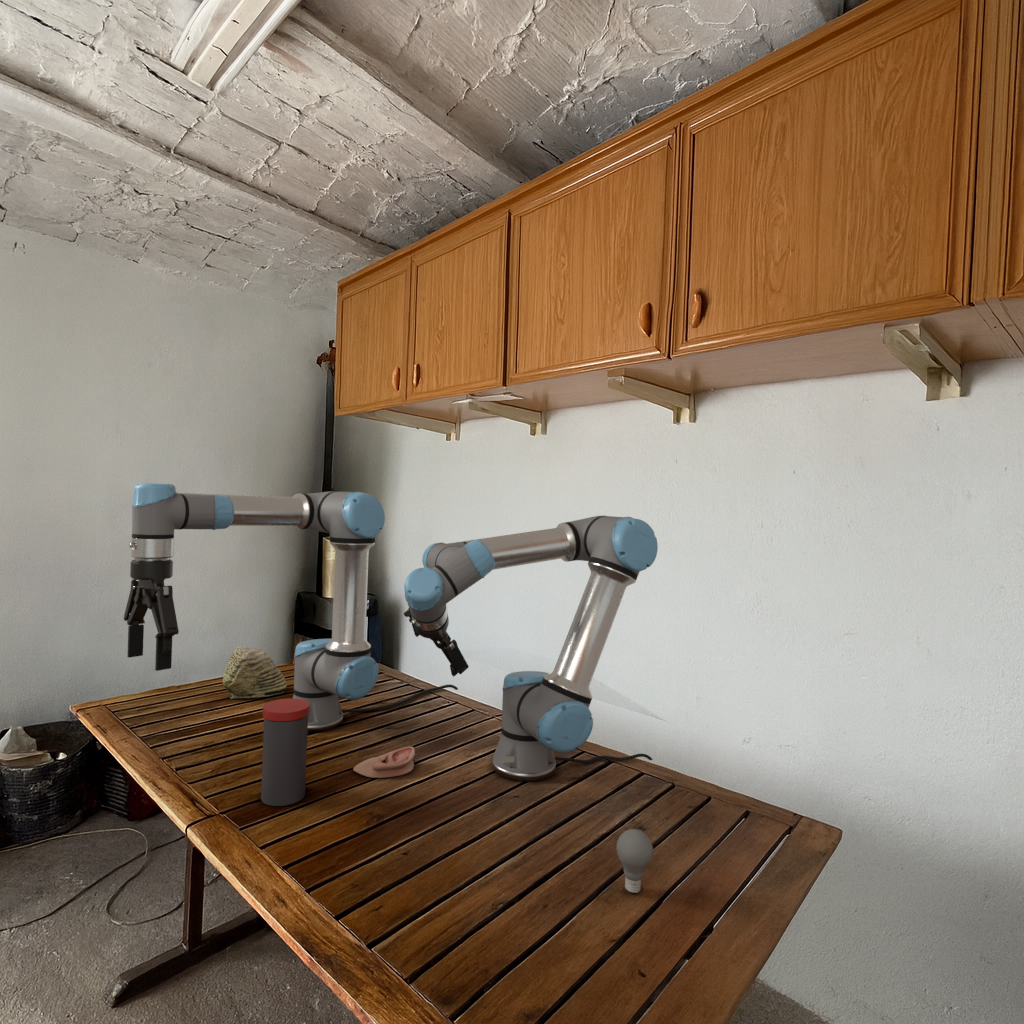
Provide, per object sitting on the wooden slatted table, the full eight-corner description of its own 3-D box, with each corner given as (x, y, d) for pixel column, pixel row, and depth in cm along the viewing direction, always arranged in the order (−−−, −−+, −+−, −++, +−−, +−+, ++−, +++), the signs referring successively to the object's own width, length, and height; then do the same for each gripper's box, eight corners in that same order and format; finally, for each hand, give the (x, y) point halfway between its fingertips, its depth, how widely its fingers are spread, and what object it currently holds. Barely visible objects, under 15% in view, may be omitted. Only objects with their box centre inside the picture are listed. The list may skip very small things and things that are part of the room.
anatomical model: (347, 757, 144) (369, 739, 156) (347, 774, 144) (368, 755, 156) (402, 764, 142) (420, 745, 153) (402, 782, 142) (419, 762, 153)
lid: (310, 705, 139) (311, 697, 139) (308, 720, 130) (308, 711, 130) (265, 707, 136) (265, 699, 136) (259, 722, 127) (259, 713, 127)
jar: (306, 785, 139) (309, 700, 138) (303, 804, 130) (307, 713, 130) (263, 788, 136) (267, 701, 136) (258, 807, 128) (261, 715, 128)
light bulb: (610, 879, 108) (613, 822, 108) (644, 879, 109) (647, 822, 109) (619, 902, 102) (622, 840, 102) (655, 901, 103) (658, 840, 103)
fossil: (218, 695, 195) (220, 647, 195) (278, 685, 208) (279, 640, 207) (228, 703, 189) (230, 653, 188) (289, 692, 201) (290, 645, 201)
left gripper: (108, 554, 134) (104, 654, 134) (159, 565, 118) (155, 678, 119) (146, 552, 140) (143, 648, 140) (199, 563, 124) (195, 671, 124)
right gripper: (379, 588, 137) (393, 626, 155) (455, 668, 128) (460, 700, 146) (406, 567, 140) (417, 607, 158) (482, 644, 131) (485, 678, 148)
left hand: (148, 662), depth 129 cm, fingers open, 13 cm apart
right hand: (438, 652), depth 152 cm, fingers open, 13 cm apart
